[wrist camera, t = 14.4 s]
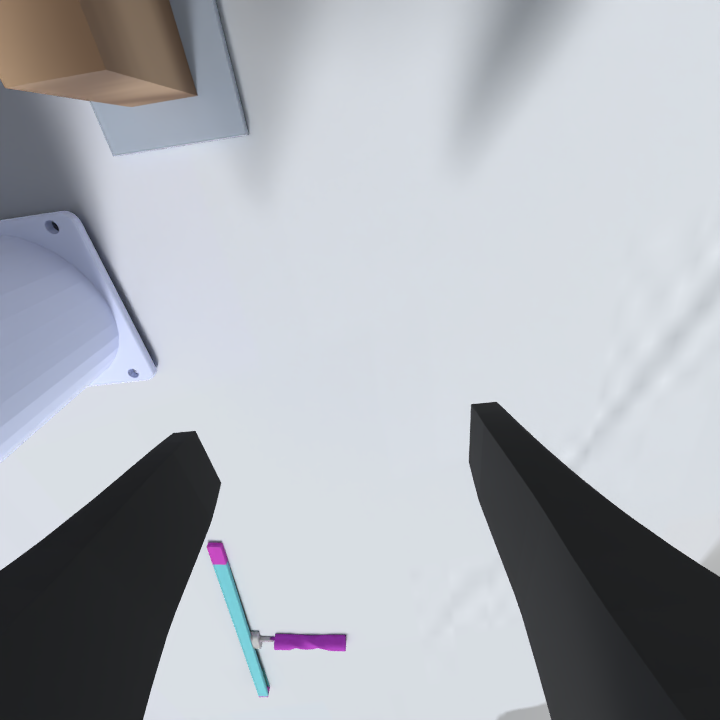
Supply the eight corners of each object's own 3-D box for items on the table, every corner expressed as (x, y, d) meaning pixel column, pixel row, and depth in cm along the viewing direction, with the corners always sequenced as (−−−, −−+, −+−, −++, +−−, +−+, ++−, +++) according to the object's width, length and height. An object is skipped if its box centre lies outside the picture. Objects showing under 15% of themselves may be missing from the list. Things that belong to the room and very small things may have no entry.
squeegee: (346, 701, 40) (258, 700, 40) (347, 682, 42) (262, 680, 42) (343, 553, 26) (205, 550, 26) (344, 531, 27) (213, 529, 27)
